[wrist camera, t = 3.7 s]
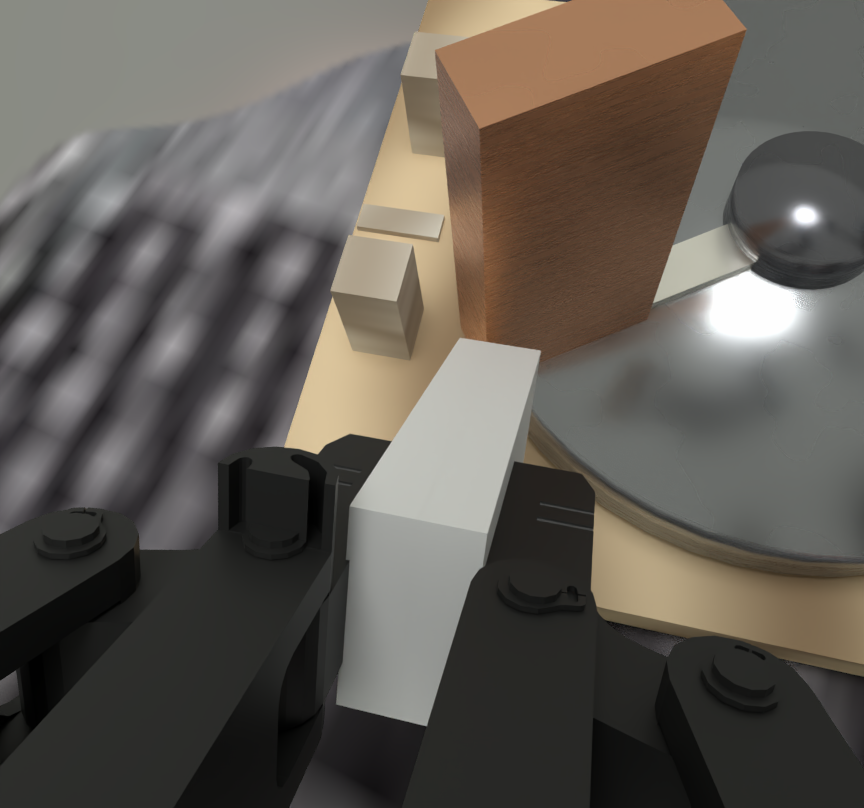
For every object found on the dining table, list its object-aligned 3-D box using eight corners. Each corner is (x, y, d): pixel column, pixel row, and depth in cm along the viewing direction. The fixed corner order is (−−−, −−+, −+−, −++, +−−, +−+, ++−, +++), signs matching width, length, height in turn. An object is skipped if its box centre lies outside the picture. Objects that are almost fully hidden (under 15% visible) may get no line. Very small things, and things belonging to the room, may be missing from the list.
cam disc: (860, -17, 24) (1075, -473, 15) (1271, 414, 18) (2062, 73, 9) (369, 166, 23) (284, -215, 14) (624, 702, 17) (774, 647, 8)
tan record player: (1240, 108, 24) (1395, -27, 20) (1386, 791, 16) (1682, 806, 12) (434, 27, 28) (423, -99, 24) (272, 547, 21) (215, 497, 16)
